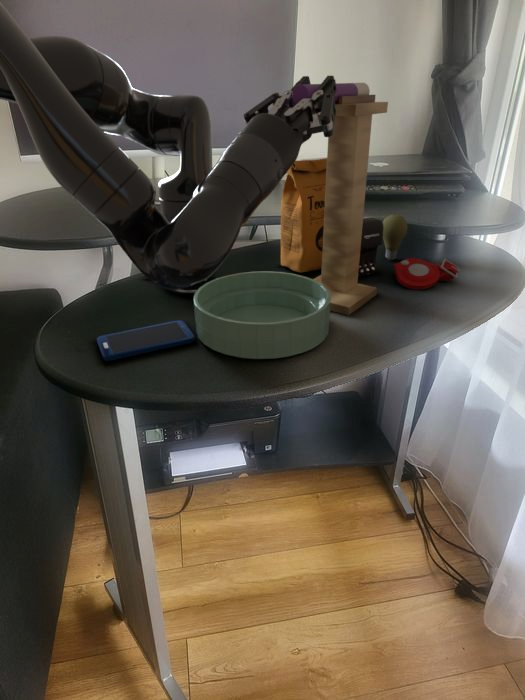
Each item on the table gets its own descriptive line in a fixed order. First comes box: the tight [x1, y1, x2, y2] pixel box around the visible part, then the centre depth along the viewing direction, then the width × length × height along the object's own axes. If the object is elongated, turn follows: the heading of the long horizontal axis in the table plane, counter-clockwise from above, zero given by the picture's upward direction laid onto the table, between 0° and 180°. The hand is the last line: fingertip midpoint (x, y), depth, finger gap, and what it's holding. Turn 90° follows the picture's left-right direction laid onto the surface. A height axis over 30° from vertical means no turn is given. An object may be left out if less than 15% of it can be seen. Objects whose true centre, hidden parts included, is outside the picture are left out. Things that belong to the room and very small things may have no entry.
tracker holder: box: [393, 257, 461, 291], centre depth 95 cm, size 12×4×10 cm
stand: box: [312, 94, 389, 316], centre depth 81 cm, size 12×11×33 cm
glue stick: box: [292, 82, 370, 106], centre depth 69 cm, size 18×3×3 cm, turn 143°
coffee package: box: [280, 157, 327, 274], centre depth 98 cm, size 10×12×22 cm
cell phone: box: [96, 319, 196, 362], centre depth 74 cm, size 7×14×1 cm, turn 115°
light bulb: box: [382, 213, 409, 262], centre depth 104 cm, size 6×6×10 cm
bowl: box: [192, 270, 331, 360], centre depth 76 cm, size 21×21×6 cm
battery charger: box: [358, 216, 384, 278], centre depth 96 cm, size 7×4×11 cm, turn 116°
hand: (319, 82), depth 66 cm, fingers open, 3 cm apart
